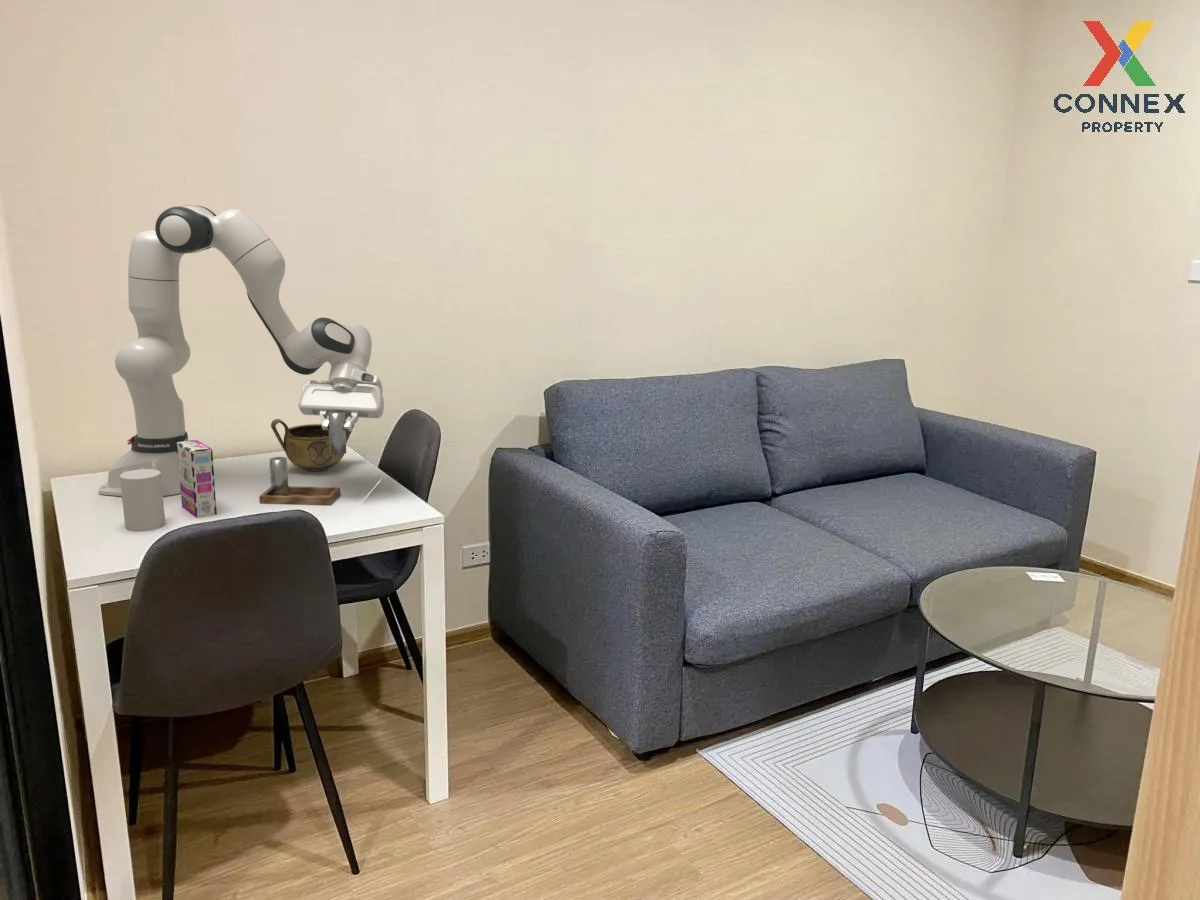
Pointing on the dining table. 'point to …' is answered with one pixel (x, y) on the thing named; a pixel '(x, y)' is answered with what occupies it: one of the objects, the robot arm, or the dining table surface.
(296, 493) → the tray
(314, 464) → the ceramic bowl
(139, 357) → the robot arm
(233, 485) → the dining table surface
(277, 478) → the cylinder
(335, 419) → the cylinder
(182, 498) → the candy bar box
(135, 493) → the cup
